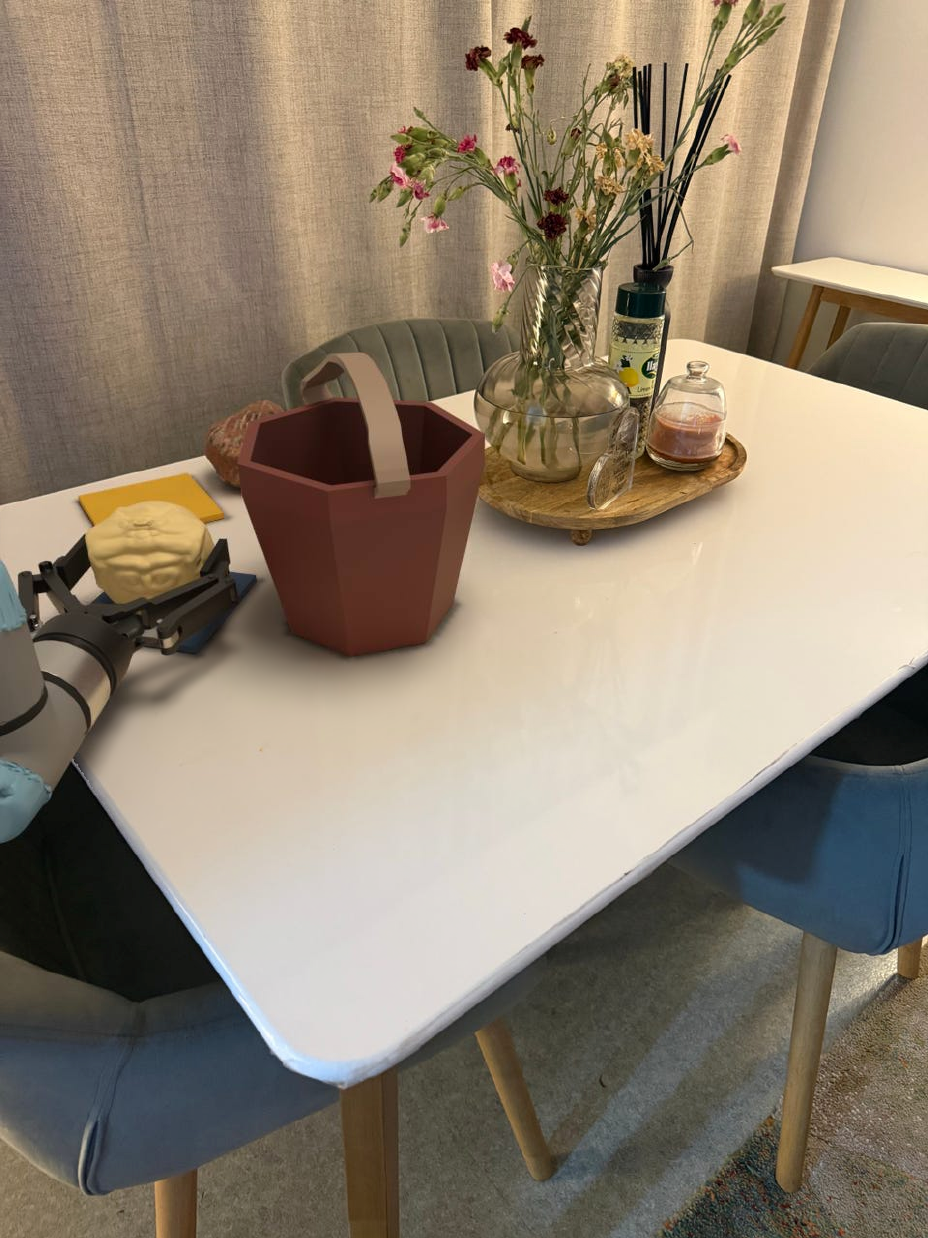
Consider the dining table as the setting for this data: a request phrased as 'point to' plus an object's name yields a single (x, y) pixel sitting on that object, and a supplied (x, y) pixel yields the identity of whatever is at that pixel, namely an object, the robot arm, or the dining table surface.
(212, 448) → the decorative rock
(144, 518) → the sculpture
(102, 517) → the yellow mat
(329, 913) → the dining table surface
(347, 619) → the bucket
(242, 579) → the blue mat
